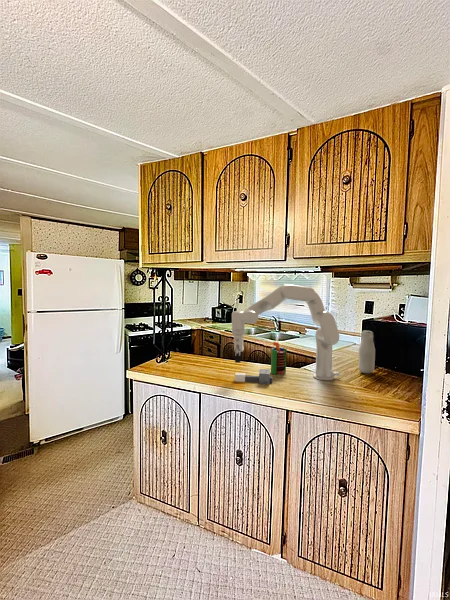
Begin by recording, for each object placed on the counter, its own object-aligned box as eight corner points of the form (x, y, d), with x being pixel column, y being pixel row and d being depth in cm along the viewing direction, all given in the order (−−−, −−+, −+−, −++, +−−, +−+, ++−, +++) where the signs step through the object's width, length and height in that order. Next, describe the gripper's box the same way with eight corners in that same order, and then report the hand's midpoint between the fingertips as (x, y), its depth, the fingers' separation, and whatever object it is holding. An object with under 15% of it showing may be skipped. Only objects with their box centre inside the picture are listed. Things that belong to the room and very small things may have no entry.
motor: (280, 376, 209) (280, 344, 207) (267, 373, 214) (268, 342, 213) (287, 372, 217) (288, 342, 215) (275, 370, 222) (276, 340, 221)
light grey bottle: (373, 371, 220) (374, 329, 218) (375, 375, 210) (377, 332, 209) (357, 370, 223) (358, 328, 221) (358, 374, 213) (360, 331, 211)
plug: (272, 381, 198) (272, 374, 198) (272, 383, 194) (272, 376, 194) (235, 379, 201) (235, 372, 201) (234, 381, 197) (234, 374, 197)
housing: (269, 379, 201) (269, 369, 201) (269, 384, 191) (269, 374, 191) (259, 378, 202) (259, 368, 202) (258, 384, 192) (259, 373, 192)
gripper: (243, 334, 188) (243, 364, 189) (245, 329, 205) (246, 356, 206) (230, 334, 189) (230, 364, 190) (233, 329, 206) (234, 356, 207)
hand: (238, 360), depth 198 cm, fingers open, 9 cm apart
